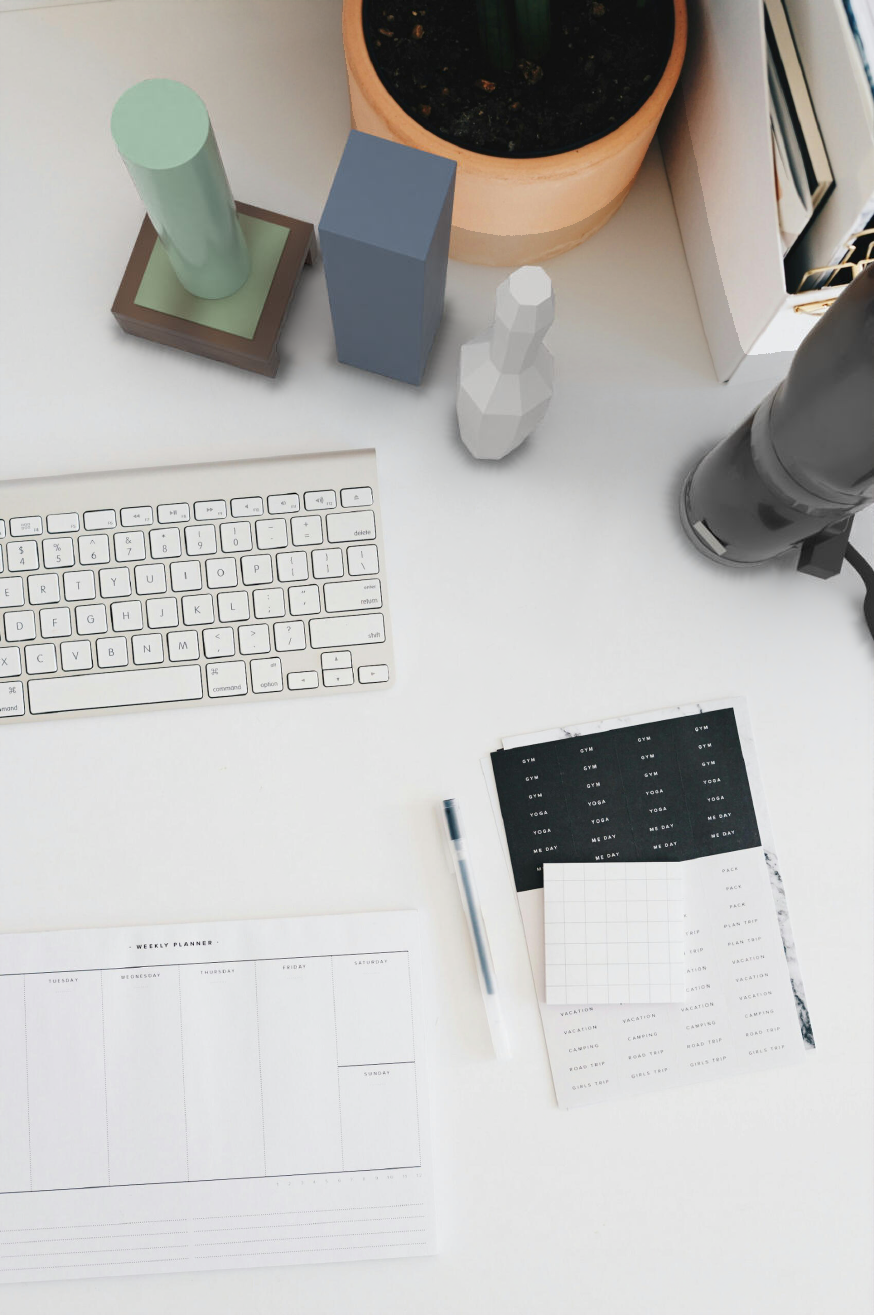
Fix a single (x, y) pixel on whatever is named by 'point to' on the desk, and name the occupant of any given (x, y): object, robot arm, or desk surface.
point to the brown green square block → (229, 324)
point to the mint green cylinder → (182, 184)
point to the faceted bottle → (508, 368)
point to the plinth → (387, 253)
